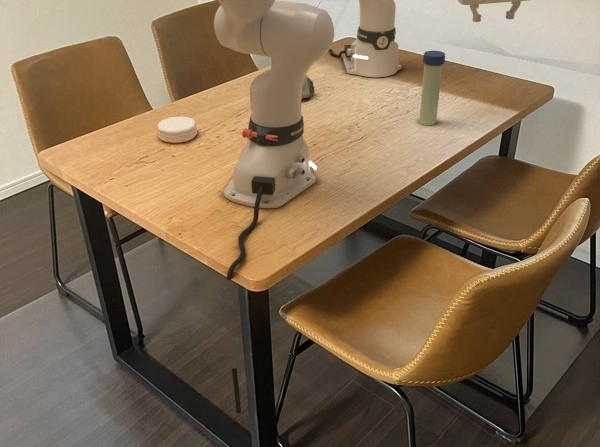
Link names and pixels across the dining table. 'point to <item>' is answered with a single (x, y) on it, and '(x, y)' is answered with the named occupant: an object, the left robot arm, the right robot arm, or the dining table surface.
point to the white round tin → (177, 129)
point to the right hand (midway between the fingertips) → (493, 20)
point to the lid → (434, 58)
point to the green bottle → (430, 94)
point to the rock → (307, 88)
